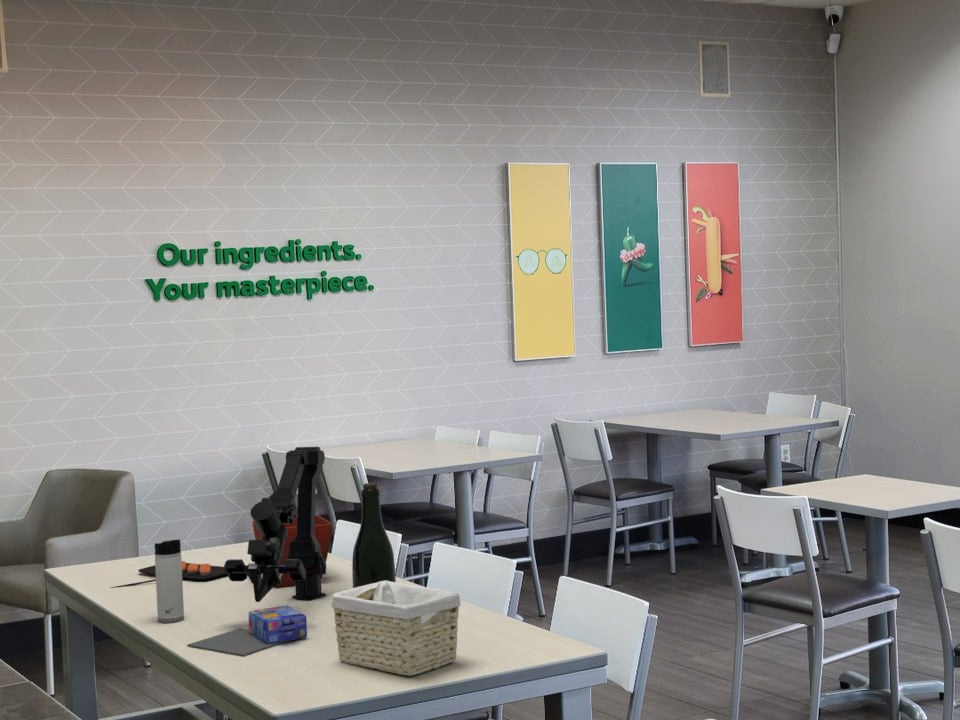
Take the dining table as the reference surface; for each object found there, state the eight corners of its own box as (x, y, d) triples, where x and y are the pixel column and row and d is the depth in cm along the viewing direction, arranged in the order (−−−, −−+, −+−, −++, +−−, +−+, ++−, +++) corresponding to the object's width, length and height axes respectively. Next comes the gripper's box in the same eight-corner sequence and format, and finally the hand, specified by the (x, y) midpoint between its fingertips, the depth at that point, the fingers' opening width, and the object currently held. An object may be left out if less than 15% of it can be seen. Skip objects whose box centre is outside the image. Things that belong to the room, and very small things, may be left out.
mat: (240, 629, 279) (239, 628, 279) (295, 639, 268) (295, 637, 268) (187, 646, 266) (187, 644, 266) (243, 656, 255) (243, 654, 255)
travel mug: (171, 624, 287) (167, 542, 286) (152, 621, 290) (148, 540, 290) (190, 618, 292) (186, 537, 292) (171, 616, 296) (167, 536, 295)
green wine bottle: (378, 613, 290) (373, 479, 289) (406, 620, 282) (401, 482, 281) (344, 622, 282) (339, 484, 281) (372, 629, 275) (366, 487, 274)
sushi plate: (240, 574, 346) (240, 561, 346) (162, 596, 321) (161, 582, 321) (171, 567, 362) (170, 555, 362) (91, 587, 337) (90, 574, 337)
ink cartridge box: (288, 603, 278) (311, 617, 266) (288, 626, 278) (312, 641, 266) (247, 609, 273) (269, 623, 261) (248, 633, 273) (270, 648, 261)
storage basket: (330, 662, 249) (327, 592, 248) (386, 644, 261) (384, 578, 260) (409, 681, 233) (406, 607, 232) (466, 662, 245) (463, 591, 244)
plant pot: (320, 571, 344) (317, 513, 344) (335, 584, 326) (333, 523, 326) (254, 578, 338) (251, 520, 337) (266, 591, 320) (263, 529, 319)
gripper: (224, 525, 281) (208, 582, 270) (299, 525, 278) (286, 582, 267) (238, 552, 289) (223, 608, 278) (312, 551, 286) (299, 608, 275)
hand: (257, 601), depth 274 cm, fingers closed
